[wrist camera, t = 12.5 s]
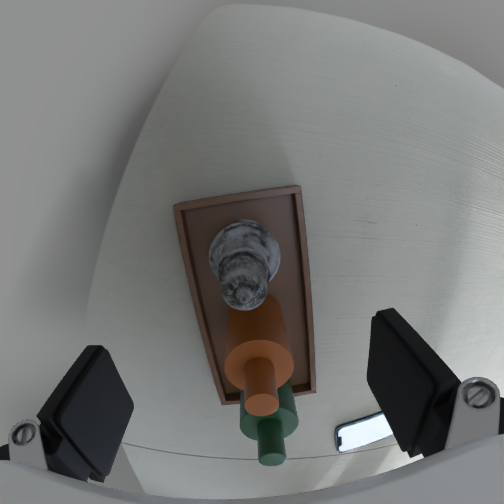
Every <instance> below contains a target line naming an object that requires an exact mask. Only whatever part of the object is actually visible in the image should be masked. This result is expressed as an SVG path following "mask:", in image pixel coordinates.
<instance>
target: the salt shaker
mask: <svg viewBox="0 0 504 504" xmlns="http://www.w3.org/2000/svg"><path fill="white" fill-rule="evenodd" d="M280 255H281V254H280V249H279V245H278V243H277V241H276V239H275V237H274V236H273V235H272V234H271V233H270V232H269V231H268V230H267V229H266V228H265V227H264V226H263V225H261V224H260V223H258V222H256V221H253V220H249V219H241V220H237V221H234V222H232V223H230V224H228V225H227V226H226V227H225V228H223V229H222V230H221V231H220V232H219V233H218V234H217V235H216V236H215V238H214V240H213V241H212V243H211V246H210V250H209V263H210V267H211V270H212V272H213V273H214V275H215V277H216V278H217V279H218V280H219V281H220V282H221V284H220V291H221V294H222V297H223V299H224V300H225V302H226V303H227V304H228V305H230V306H231V307H233V308H235V309H238V310H251V309H254V308H256V307H258V306H259V305H261V304H262V303H263V301H264V300H265V298H266V295H267V292H268V283H269V281H270V280H272V279H273V277H274V276H275V274H276V273H277V271H278V268H279V265H280Z"/></svg>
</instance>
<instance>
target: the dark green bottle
mask: <svg viewBox="0 0 504 504" xmlns="http://www.w3.org/2000/svg"><path fill="white" fill-rule="evenodd" d="M277 392H278V399H279V407H278V409H277V410H276V411H275V412H274V413H272V414H270V415H267V416H255V415H252V414H250V413H248V412H247V411H246V409H245V407H244V390H241V389H240V429H241V431H242V432H243V434H244V435H246V436H247V437H249V438H251V439H254V440H257V441H258V460H259V462H260V463H261V464H262V465H265V466H276V465H280V464H282V463H283V462H285V460H286V451H285V444H284V438H285V437H287V436H289V435H290V434H292V433H293V432H294V431H295V430H296V428H297V426H298V416H297V411H296V406H295V401H294V396H293V391H292V387H291V382H290V378H289V379H288V381H287V382H286V383H284V384H283V385H282V386H280V387H279V388H277Z"/></svg>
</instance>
